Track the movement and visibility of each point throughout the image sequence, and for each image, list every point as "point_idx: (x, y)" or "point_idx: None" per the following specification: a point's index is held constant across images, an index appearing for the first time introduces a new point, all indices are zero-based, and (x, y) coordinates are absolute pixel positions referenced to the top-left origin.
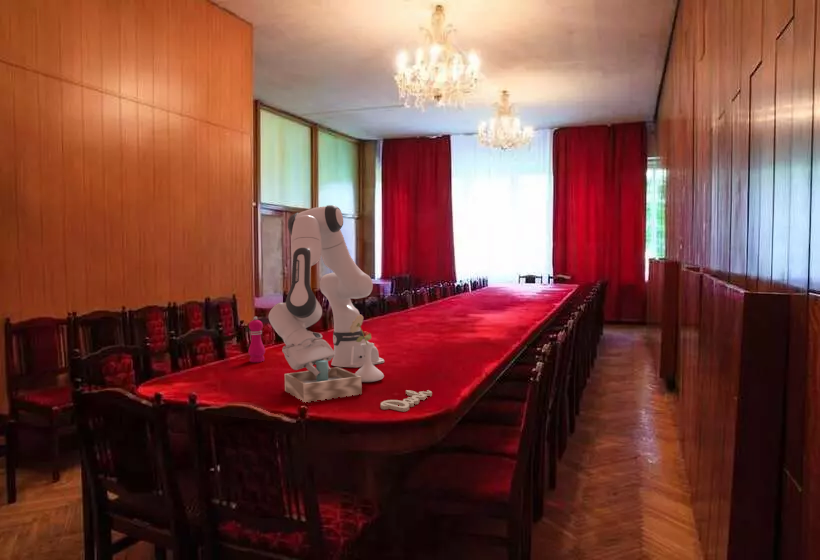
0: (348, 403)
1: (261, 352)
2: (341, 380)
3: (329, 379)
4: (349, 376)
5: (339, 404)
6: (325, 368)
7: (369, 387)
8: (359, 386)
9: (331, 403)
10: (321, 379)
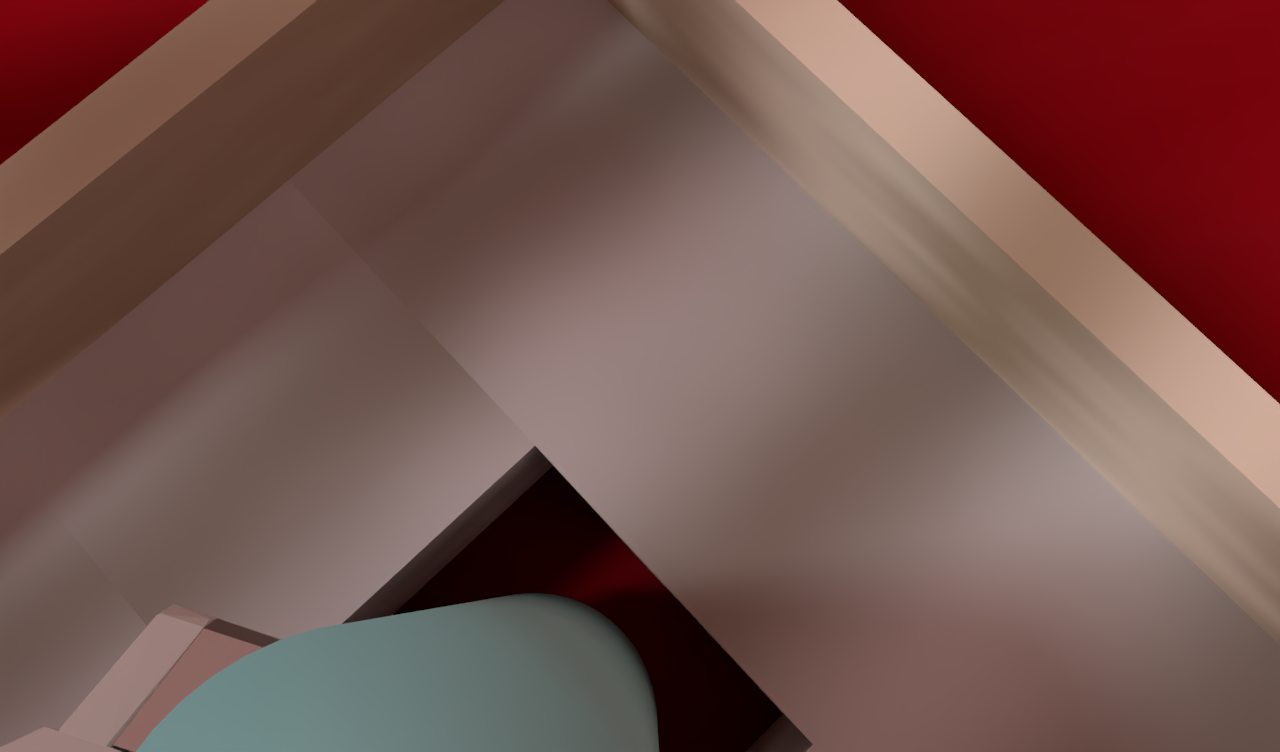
0: (1168, 3)
1: None
2: (903, 82)
3: None
4: (210, 155)
5: (1262, 112)
6: (560, 646)
7: (84, 10)
8: None
9: (1239, 255)
10: (654, 722)
